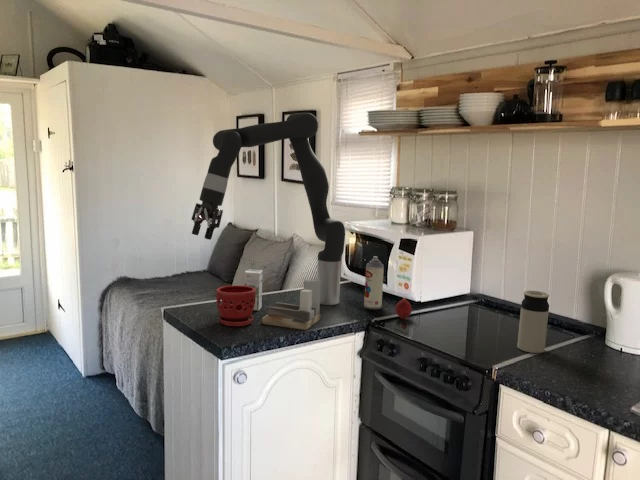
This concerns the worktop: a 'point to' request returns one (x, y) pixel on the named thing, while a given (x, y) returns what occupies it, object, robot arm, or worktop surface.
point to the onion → (403, 308)
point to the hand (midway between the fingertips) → (201, 236)
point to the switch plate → (290, 316)
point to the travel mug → (533, 322)
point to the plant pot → (236, 305)
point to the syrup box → (255, 285)
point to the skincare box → (314, 292)
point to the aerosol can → (374, 284)
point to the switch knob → (306, 302)
